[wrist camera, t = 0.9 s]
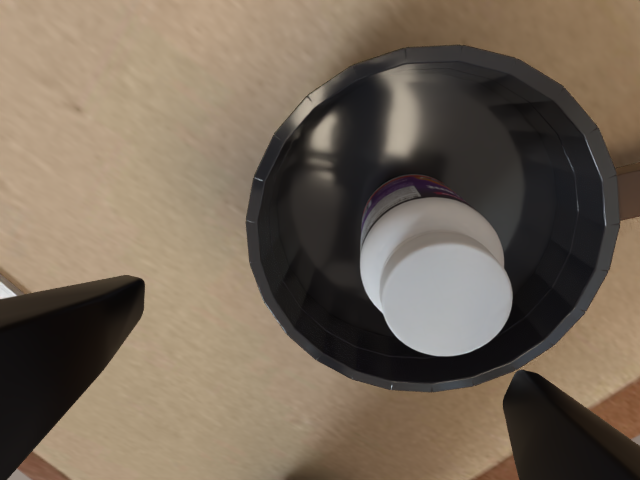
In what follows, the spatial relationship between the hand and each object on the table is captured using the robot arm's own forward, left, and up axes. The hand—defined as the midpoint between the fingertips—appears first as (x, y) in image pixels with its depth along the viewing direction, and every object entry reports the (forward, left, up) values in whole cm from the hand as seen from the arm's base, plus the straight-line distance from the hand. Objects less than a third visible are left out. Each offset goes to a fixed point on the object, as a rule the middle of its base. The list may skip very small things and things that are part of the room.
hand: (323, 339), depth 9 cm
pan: (-1, -3, -13) cm, 14 cm away
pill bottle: (-1, -3, -13) cm, 14 cm away
